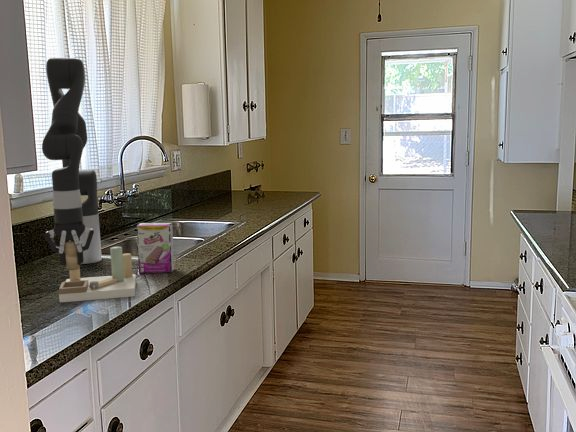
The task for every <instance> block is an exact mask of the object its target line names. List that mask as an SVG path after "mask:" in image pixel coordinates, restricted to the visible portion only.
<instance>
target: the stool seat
mask: <svg viewBox="0 0 576 432" xmlns="http://www.w3.org/2000/svg"><path fill="white" fill-rule="evenodd" d="M122 256H123V272H124V280H123V281H118V282H114V283H111V284H108V285H105V286H102V287H99V288H96V289H91V288H89V285H90V282H92V281H98V282H99V281H102V280H106V279H109V278H112V275H106V276H105V275H104V276H92V277H81V269H80V266H79V269H77V270H68V271H69V278H66V280H65V281H62V282H61V284H60V286H59V288H58V297H59V303H70V302H81V301H82V302H83V301H84V302H85V301H92V300H93V301H95V300H104V299H105V300H106V299H117V298H118V299H119V298H127V297H128V298H129V297H136V285H137V277H136V273H133V259H132V257H133V256H132V254H131V253H122Z"/></svg>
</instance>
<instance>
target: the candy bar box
mask: <svg viewBox="0 0 576 432" xmlns="http://www.w3.org/2000/svg"><path fill="white" fill-rule="evenodd" d="M136 237H137V258H138V262H137V263H138V274H167V273H166V272H172V273H173V272H174V270H175V258H174V257H175V255H174V231H173V223H172V222H141V223H140V222H139V223H138V224H136Z"/></svg>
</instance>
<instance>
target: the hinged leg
mask: <svg viewBox="0 0 576 432" xmlns="http://www.w3.org/2000/svg"><path fill="white" fill-rule="evenodd" d="M109 249H110V251H109V252H110V264H111V276H112V278H109V279H106V280H102V281H99V282H98V281H92V282H90V285H89V288H91V289H96V288H99V287H102V286H105V285H108V284H111V283H114V282H118V281H123V280H124V272H123V256H122V254H123V247H122V246H112V247H111V246H110V248H109Z"/></svg>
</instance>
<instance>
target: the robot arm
mask: <svg viewBox="0 0 576 432" xmlns="http://www.w3.org/2000/svg"><path fill="white" fill-rule="evenodd" d="M85 68H86V67H85V64H84V62H83V61H82V59H80V58H75V57H74V58H73V57H71V58H69V57H59V58H58V57H53V58H49V59H48V60H46V64H45V72H46V78H47V83H48V88H49V92H50V96H51V99H52V100H51V101H52V105H53V108H52V113H51V124H50V126H49V128H48V130H47V132H46V133H45V136H44V138H43V140H42V143H41V150H42V154H43V156H44V157H45V158H46V159H48V160H49V161H62V167H60V168H57V169H54V170H53V171H52V173H51V181H52V207H53V216H54V218H53V219H54V226H53V228H52V229H51V230H47V231H45V233H44V238H45V239H46V241H47V243H48V246H49V247H50V249H51V250H52V252H53V253H58V254H59V259H60V260H59V262H60V265H62V267H66V261H65V250H64V246H65V242H68V241H75V244H76V246H77V249H78V265H79V266H82V265H83V264H84V265H85V264H95V263H99V262H101V261H102V259H103V257H102V245H101V244H102V243H101V231H100V218H99V217H100V216H99V206H98V204H99V203H98V178H97V173H96V171H95V170H94V169H91V168H90V169H89V168H87V169H80V164H81V161H82V155H83V150H84V149H85V147H86V145H87V143H88V129H87V123H86V121H85V119H84V117H83V116H82V115H81V114H80V113H79V110H80V105H81V102H82V99H83V94H84V89H85V85H86V69H85ZM63 90H68V91H67V92H65V94H64V91H63ZM82 196H87V198H86V200H84V201H82ZM55 235H56V236H57V237H58V238H59V239H60V241H59V242H60V243H59V246H58V245H57V243H56V242H55V240H54V237H55Z"/></svg>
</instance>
